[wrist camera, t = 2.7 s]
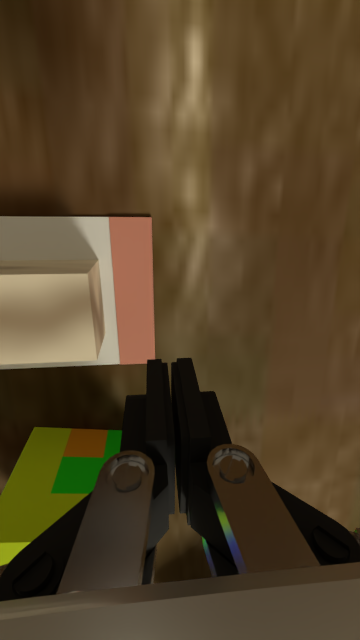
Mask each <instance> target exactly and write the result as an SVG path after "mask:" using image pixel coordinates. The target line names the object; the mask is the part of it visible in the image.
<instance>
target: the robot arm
mask: <svg viewBox="0 0 360 640" xmlns="http://www.w3.org/2000/svg"><path fill="white" fill-rule="evenodd" d="M175 468H176V478H177V489H178V500H179V510H180V513H186V515H187V523H188V525H191V528H193V529H194V530H195V531H196V532H197V533H198V534H200V535H201V536H202V542H203V547H204V551H205V554H206V558H207V561H208V565H209V568H210V571H211V575H212V577H211V578H202V579H192V580H183V581H174V582H165V583H156V584H153V580H154V571H155V563H156V554H157V543H158V542H159V540H160V539H161V538H162V537H163V535H164V534H165V533H166V532H167V531H168V529H169V514H174V511H175ZM0 640H360V528H356V529H355V531H354V532H352V531H348V530H347V529H346V528H345V527H343V526H342V525H341V524H339V523H338V522H336V521H335V520H333V519H332V518H330V517H328V516H327V515H325V514H323V513H322V512H320V511H318V510H317V509H315V508H314V507H312V506H310V505H309V504H307V503H305V502H304V501H302V500H300V499H299V498H297V497H296V496H294V495H292V494H291V493H289V492H287V491H286V490H284V489H282V488H281V487H279V486H277V485H276V484H274V483H273V482H271V481H270V479H269V478H268V476H267V474H266V472H265V471H264V469H263V467H262V466H261V464H260V462H259V461H258V459H257V458H256V457H255V455H254V454H253V453H252V452H250V451H249V450H248V449H246V448H244V447H242V446H239V445H235V444H232V442H231V439H230V436H229V433H228V430H227V427H226V424H225V421H224V418H223V415H222V412H221V409H220V406H219V403H218V400H217V397H216V394H215V392H214V391H207V392H200V390H199V386H198V382H197V378H196V374H195V370H194V366H193V362H192V359H191V358H177V362H172V363H171V395H170V386H169V376H168V366H167V363H162V361H161V359H148V360H147V391H146V395H127V396H126V402H125V411H124V419H123V428H122V436H121V444H120V453H117V454H115V455H113V456H112V457H110V458H109V459H108V460H107V461H106V462H105V463H104V464H103V466H102V468H101V470H100V472H99V475H98V478H97V480H96V483H95V486H94V489H93V491H92V492H90V493H89V494H88V495H87V496H86V497H84V498H83V499H82V500H81V501H80V502H78V503H77V504H76V505H75V506H74V507H72V508H71V509H70V510H69V511H68V512H66V513H65V514H64V515H63V516H62V517H60V518H59V519H58V520H57V521H56V522H55V523H53V524H52V525H51V526H50V527H49V528H47V529H46V530H45V531H44V532H43V533H41V534H40V535H39V536H38V537H37V538H35V539H34V540H33V541H32V542H31V543H29V544H28V545H27V546H26V547H25V548H23V549H22V550H21V551H20V552H19V553H18V554H17V555H16V556H15V557H14V558H13V559H12V560H11V561H10V562H9V563H8V564H5V565H2V566H0Z"/></svg>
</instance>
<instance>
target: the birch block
mask: <svg viewBox="0 0 360 640" xmlns="http://www.w3.org/2000/svg"><path fill="white" fill-rule="evenodd" d="M105 333H106V332H105V322H104V311H103V301H102V290H101V279H100V269H99V260H0V365H4V364H27V363H49V362H72V361H95V360H97V359H98V356H99V353H100V349H101V346H102V343H103V339H104V336H105Z"/></svg>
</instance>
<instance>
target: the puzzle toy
mask: <svg viewBox="0 0 360 640" xmlns="http://www.w3.org/2000/svg"><path fill="white" fill-rule="evenodd" d="M121 436H122V430H98V429H73V428H48V427H34V429H33V431H32V433H31V435H30V437H29V439H28V441H27V443H26V445H25V447H24V449H23V451H22V453H21V455H20V457H19V459H18V461H17V463H16V465H15V467H14V469H13V471H12V473H11V475H10V477H9V479H8V481H7V483H6V485H5V487H4V489H3V491H2V494H1V496H0V566H2V565H5V564H8V563H9V562H10V561H11V560H12V559H13V558H14V557H15V556H16V555H17V554H18V553H19V552H20V551H21V550H22V549H23V548H25V547H26V546H27V545H28V544H29V543H31V542H32V541H33V540H34V539H35V538H37V537H38V536H39V535H40V534H41V533H43V532H44V531H45V530H46V529H47V528H49V527H50V526H51V525H52V524H53V523H55V522H56V521H57V520H58V519H59V518H60V517H62V516H63V515H64V514H65V513H66V512H68V511H69V510H70V509H71V508H72V507H74V506H75V505H76V504H77V503H78V502H80V501H81V500H82V499H83V498H84V497H86V496H87V495H88V494H89V493H90V492H92V491H93V489H94V486H95V483H96V480H97V478H98V475H99V472H100V470H101V468H102V466H103V464H104V463H105V462H106V461H107V460H108V459H109V458H110V457H112V456H113V455H115V454H117V453H120V444H121Z"/></svg>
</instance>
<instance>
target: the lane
mask: <svg viewBox="0 0 360 640" xmlns="http://www.w3.org/2000/svg"><path fill="white" fill-rule="evenodd" d="M0 260H99V269H100V279H101V290H102V301H103V311H104V322H105V332H106V333H105V336H104V339H103V343H102V346H101V349H100V353H99V356H98V359H97V360H95V361H72V362H49V363H27V364H4V365H0V369H19V368H41V367H63V366H85V365H107V364H120V355H119V342H118V329H117V316H116V303H115V290H114V277H113V264H112V251H111V238H110V225H109V217H33V216H0Z"/></svg>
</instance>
